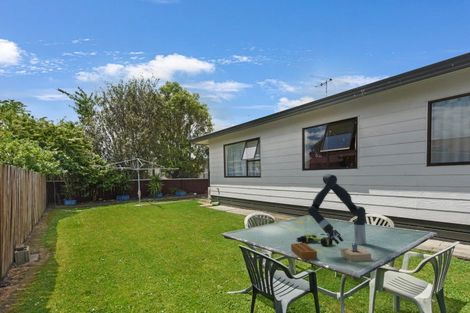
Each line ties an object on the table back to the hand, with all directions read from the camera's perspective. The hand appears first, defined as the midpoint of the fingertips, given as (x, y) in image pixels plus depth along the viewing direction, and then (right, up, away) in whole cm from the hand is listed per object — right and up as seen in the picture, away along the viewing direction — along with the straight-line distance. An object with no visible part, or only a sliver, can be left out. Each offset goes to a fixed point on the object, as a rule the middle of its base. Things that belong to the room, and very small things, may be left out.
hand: (340, 242), depth 218 cm
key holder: (+8, -9, -8) cm, 15 cm away
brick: (-29, -11, +3) cm, 31 cm away
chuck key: (+8, -9, -8) cm, 14 cm away
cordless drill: (-12, -12, +33) cm, 37 cm away
